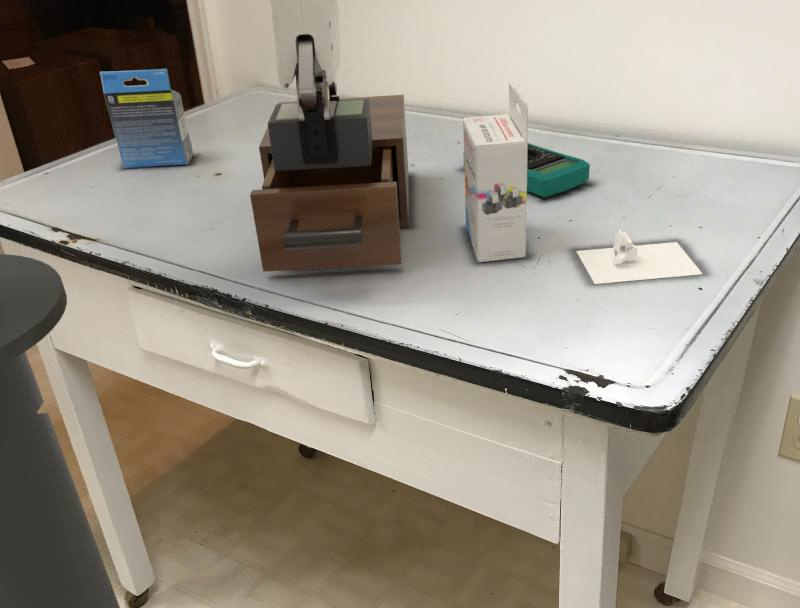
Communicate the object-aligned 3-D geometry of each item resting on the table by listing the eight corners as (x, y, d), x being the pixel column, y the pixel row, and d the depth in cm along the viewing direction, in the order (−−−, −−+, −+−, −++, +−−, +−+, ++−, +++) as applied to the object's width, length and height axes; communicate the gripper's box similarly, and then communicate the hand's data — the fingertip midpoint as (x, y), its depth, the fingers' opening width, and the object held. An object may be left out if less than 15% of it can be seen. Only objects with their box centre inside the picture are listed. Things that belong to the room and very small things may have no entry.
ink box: (463, 228, 90) (460, 84, 81) (510, 224, 90) (512, 79, 82) (476, 263, 83) (474, 109, 74) (527, 258, 83) (531, 104, 75)
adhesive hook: (607, 256, 82) (609, 226, 80) (634, 254, 82) (637, 223, 81) (616, 270, 80) (619, 239, 78) (643, 268, 80) (647, 237, 78)
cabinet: (408, 227, 91) (403, 137, 86) (272, 234, 92) (258, 146, 86) (408, 175, 104) (403, 94, 98) (289, 182, 104) (278, 102, 99)
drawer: (401, 287, 78) (395, 206, 73) (255, 295, 78) (241, 215, 74) (402, 206, 94) (398, 135, 89) (281, 212, 94) (270, 143, 90)
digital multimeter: (504, 154, 108) (504, 131, 106) (591, 184, 98) (593, 158, 96) (459, 169, 104) (458, 145, 103) (545, 201, 94) (546, 176, 93)
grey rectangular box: (274, 171, 79) (267, 121, 77) (282, 150, 84) (275, 102, 82) (370, 166, 79) (366, 115, 76) (372, 145, 84) (369, 97, 81)
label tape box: (194, 155, 115) (175, 60, 108) (187, 166, 112) (167, 68, 105) (130, 159, 116) (107, 64, 109) (122, 169, 112) (97, 72, 105)
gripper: (269, -72, 78) (294, 125, 89) (238, -46, 64) (273, 185, 74) (351, -78, 78) (366, 121, 88) (338, -52, 64) (358, 181, 74)
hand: (323, 148), depth 81 cm, fingers closed on grey rectangular box, 6 cm apart
